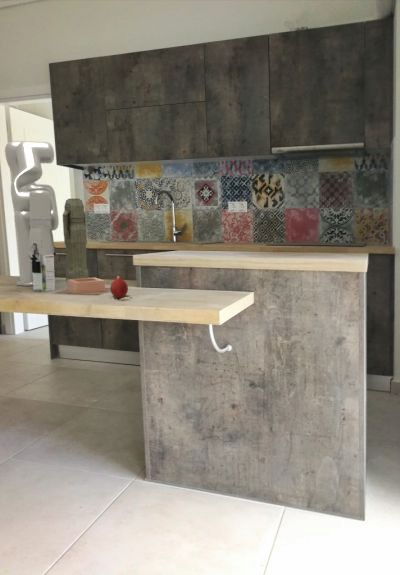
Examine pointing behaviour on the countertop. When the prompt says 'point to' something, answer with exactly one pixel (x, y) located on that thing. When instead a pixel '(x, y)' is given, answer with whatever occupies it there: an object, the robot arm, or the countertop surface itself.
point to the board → (82, 293)
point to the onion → (119, 288)
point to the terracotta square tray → (85, 285)
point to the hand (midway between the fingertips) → (43, 271)
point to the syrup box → (45, 274)
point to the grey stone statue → (75, 239)
